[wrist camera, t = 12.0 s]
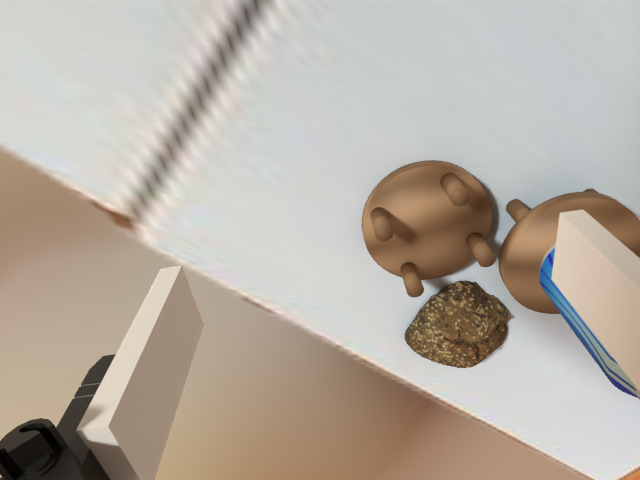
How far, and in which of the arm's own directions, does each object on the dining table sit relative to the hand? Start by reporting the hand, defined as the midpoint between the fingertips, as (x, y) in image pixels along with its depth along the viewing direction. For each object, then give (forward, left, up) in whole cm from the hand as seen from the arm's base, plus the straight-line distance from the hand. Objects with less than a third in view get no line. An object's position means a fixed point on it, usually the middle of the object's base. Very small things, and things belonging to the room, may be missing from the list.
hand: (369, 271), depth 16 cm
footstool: (+20, +22, -32) cm, 43 cm away
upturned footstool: (+16, +8, -32) cm, 36 cm away
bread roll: (+32, +12, -32) cm, 47 cm away
